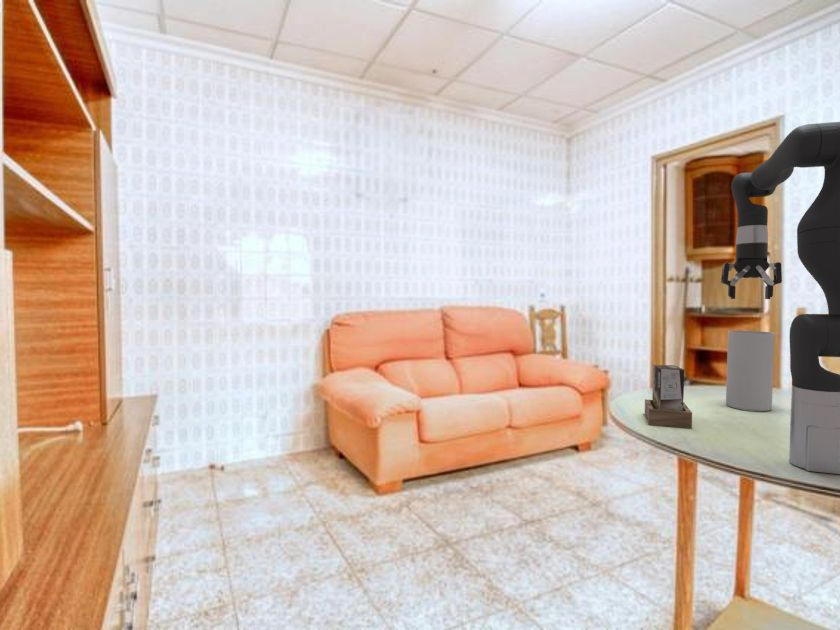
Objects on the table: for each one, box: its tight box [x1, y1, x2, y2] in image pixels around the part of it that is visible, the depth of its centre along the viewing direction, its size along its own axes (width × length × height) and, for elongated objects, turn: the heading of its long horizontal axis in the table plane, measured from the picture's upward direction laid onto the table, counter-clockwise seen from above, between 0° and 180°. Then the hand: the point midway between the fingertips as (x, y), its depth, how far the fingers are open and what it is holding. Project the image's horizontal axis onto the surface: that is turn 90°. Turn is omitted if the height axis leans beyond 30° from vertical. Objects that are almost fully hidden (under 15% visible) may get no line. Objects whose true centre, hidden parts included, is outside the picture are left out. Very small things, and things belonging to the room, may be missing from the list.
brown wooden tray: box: [644, 398, 693, 430], centre depth 141 cm, size 14×11×4 cm
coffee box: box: [651, 364, 685, 411], centre depth 140 cm, size 9×6×16 cm
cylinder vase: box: [725, 330, 775, 413], centre depth 157 cm, size 12×12×25 cm
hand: (750, 299), depth 137 cm, fingers open, 8 cm apart
